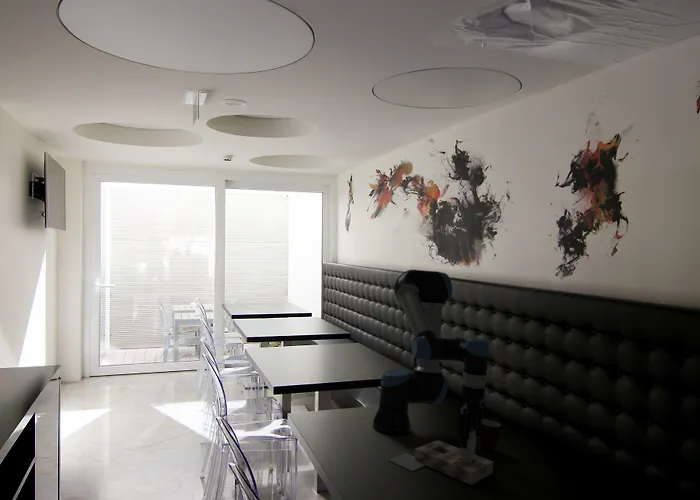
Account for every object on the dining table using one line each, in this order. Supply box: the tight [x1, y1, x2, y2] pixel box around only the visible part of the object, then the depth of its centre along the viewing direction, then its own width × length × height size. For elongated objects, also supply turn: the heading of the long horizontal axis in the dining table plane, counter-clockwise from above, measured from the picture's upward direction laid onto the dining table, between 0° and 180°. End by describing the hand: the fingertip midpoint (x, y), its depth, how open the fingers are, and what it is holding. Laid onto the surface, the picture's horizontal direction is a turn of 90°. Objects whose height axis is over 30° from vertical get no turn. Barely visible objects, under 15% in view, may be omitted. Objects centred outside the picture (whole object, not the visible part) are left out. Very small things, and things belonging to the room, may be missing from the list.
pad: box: [387, 452, 427, 473], centre depth 170 cm, size 10×10×1 cm
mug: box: [478, 418, 502, 453], centre depth 187 cm, size 10×8×10 cm
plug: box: [462, 428, 476, 465], centre depth 166 cm, size 4×4×15 cm
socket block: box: [413, 439, 494, 486], centre depth 170 cm, size 22×14×4 cm, turn 47°
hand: (467, 455), depth 166 cm, fingers closed on plug, 3 cm apart
